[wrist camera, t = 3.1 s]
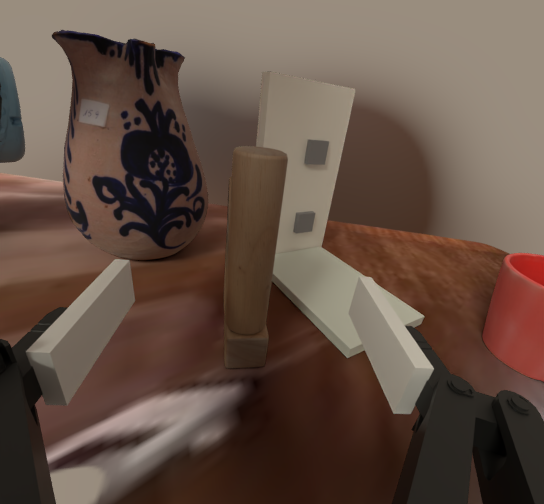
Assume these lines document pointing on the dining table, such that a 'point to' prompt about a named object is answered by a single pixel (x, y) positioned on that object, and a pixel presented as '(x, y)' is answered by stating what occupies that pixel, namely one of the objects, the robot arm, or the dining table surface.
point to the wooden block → (251, 251)
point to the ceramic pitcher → (130, 149)
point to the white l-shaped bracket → (313, 202)
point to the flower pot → (518, 315)
